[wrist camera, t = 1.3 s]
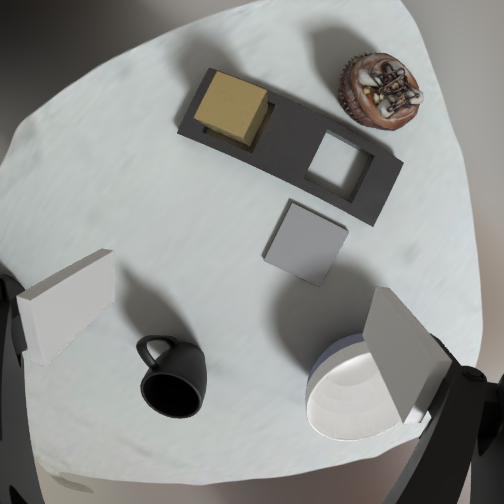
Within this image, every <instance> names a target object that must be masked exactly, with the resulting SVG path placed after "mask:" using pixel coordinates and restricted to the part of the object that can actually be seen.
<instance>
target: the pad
mask: <svg viewBox="0 0 504 504" xmlns="http://www.w3.org/2000/svg"><path fill="white" fill-rule="evenodd" d="M348 233H349V231H347V230H345V229H343V228H341V227H339V226H338V225H336V224H334V223H332V222H330V221H328V220H326V219H324V218H322V217H320V216H318V215H316V214H314V213H312V212H310V211H308V210H306V209H304V208H302V207H300V206H298V205H296V204H294V203H292V204H291V206H290V208H289V210H288V212H287V214H286V216H285V218H284V220H283V222H282V224H281V226H280V228H279V230H278V232H277V234H276V236H275V238H274V240H273V242H272V244H271V246H270V248H269V250H268V252H267V254H266V256H265V258H264V261H265V262H267V263H270V264H272V265H274V266H276V267H278V268H280V269H282V270H285V271H287V272H289V273H291V274H293V275H295V276H297V277H300V278H302V279H304V280H306V281H308V282H310V283H313V284H315V285H317V286H319V287H320V285H321V283H322V281H323V280H324V278H325V276H326V274H327V272H328V271H329V269H330V267H331V265H332V263H333V261H334V260H335V258H336V256H337V254H338V252H339V250H340V248H341V247H342V245H343V243H344V241H345V239H346V237H347V235H348Z"/></svg>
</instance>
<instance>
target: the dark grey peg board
mask: <svg viewBox="0 0 504 504" xmlns="http://www.w3.org/2000/svg"><path fill="white" fill-rule="evenodd" d="M218 72H220V71H218ZM216 73H217V70H215V69H212V68H209V69H208V71H207V73H206V75H205V77H204V79H203V81H202V82H201V84H200V86H199V88H198V90H197V92H196V94H195V96H194V98H193V100H192V102H191V104H190V106H189V108H188V111H187V113H186V115H185V117H184V119H183V121H182V123H181V125H180V128H179V130H178V132H177V134H180V135H182V136H185V137H187V138H190V139H192V140H195V141H197V142H200V143H202V144H204V145H207V146H209V147H211V148H214V149H216V150H218V151H221V152H223V153H225V154H228V155H230V156H232V157H234V158H237V159H239V160H241V161H243V162H245V163H248V164H250V165H252V166H254V167H256V168H259V169H261V170H263V171H265V172H267V173H269V174H271V175H273V176H276V177H278V178H280V179H282V180H284V181H286V182H288V183H290V184H292V185H294V186H296V187H298V188H300V189H302V190H304V191H306V192H308V193H310V194H312V195H314V196H316V197H318V198H320V199H322V200H324V201H326V202H328V203H330V204H332V205H333V206H335V207H337V208H339V209H341V210H343V211H345V212H347V213H348V214H350V215H352V216H354V217H356V218H358V219H359V220H361V221H363V222H365V223H367V224H369V225H370V226H372V227H373V226H374V224H375V222H376V220H377V218H378V216H379V214H380V212H381V210H382V208H383V206H384V204H385V202H386V200H387V198H388V196H389V194H390V192H391V190H392V187H393V185H394V183H395V181H396V179H397V177H398V175H399V172H400V170H401V168H402V166H403V164H404V162H402V161H401V160H399V159H397V158H396V157H394V156H393V155H391V154H390V153H388V152H386V151H385V150H383V149H381V148H380V147H378V146H376V145H375V144H373V143H371V142H370V141H368V140H366V139H365V138H363V137H361V136H359V135H358V134H356V133H354V132H352V131H351V130H349V129H347V128H345V127H343V126H341V125H340V124H338V123H336V122H334V121H332V120H330V119H328V118H326V117H324V116H322V115H320V114H318V113H316V112H314V111H312V110H310V109H308V108H306V107H304V106H302V105H300V104H298V103H296V102H293V101H291V100H289V99H287V98H285V97H282V96H280V95H278V94H276V93H273V92H271V91H269V90H267V104H268V105H270V106H272V107H275V108H274V110H273V112H272V114H271V116H270V118H269V120H268V122H267V124H266V126H265V128H264V130H263V133H262V135H261V137H260V139H259V141H258V143H257V145H256V147H255V149H254V151H253V153H249V152H247V151H245V150H243V149H241V148H238V147H236V146H234V145H231V144H229V143H227V142H224V141H222V140H220V139H217V138H215V137H213V136H210V135H208V134H205V133H206V131H207V129H208V127H207V126H206V125H204V124H203V123H201V122H200V121H198V120H197V119H195V118H194V116H195V114H196V112H197V110H198V108H199V106H200V104H201V102H202V100H203V98H204V96H205V94H206V92H207V90H208V88H209V86H210V84H211V82H212V80H213V78H214V76H215V74H216ZM221 73H223V72H221ZM224 74H226V73H224ZM227 75H228V74H227ZM229 76H231V75H229ZM232 77H234V76H232ZM235 78H237V77H235ZM237 79H239V78H237ZM240 80H242V79H240ZM242 81H244V80H242ZM245 82H247V81H245ZM248 83H249V82H248ZM250 84H252V83H250ZM253 85H254V84H253ZM255 86H257V85H255ZM257 87H259V86H257ZM260 88H262V87H260ZM262 89H264V88H262ZM265 90H266V89H265ZM325 133H328V134H330V135H332V136H334V137H336V138H338V139H340V140H341V141H343V142H345V143H347V144H349V145H351V146H352V147H354V148H356V149H358V150H359V151H361V152H363V153H365V154H366V155H368V156H370V157H369V159H368V162H367V164H366V166H365V168H364V170H363V172H362V174H361V176H360V178H359V180H358V183H357V185H356V187H355V189H354V191H353V193H352V195H351V197H350V199H349V201H346V200H344V199H343V198H341V197H339V196H337V195H335V194H333V193H331V192H329V191H328V190H326V189H324V188H322V187H320V186H318V185H316V184H314V183H312V182H310V181H308V180H306V179H304V176H305V174H306V172H307V170H308V168H309V166H310V164H311V162H312V160H313V158H314V156H315V154H316V152H317V150H318V148H319V145H320V143H321V141H322V139H323V137H324V135H325Z"/></svg>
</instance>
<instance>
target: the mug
mask: <svg viewBox="0 0 504 504" xmlns="http://www.w3.org/2000/svg"><path fill="white" fill-rule="evenodd" d="M153 340H159V341H164V342H166V343H167V344H168V345H169V347H170V348H169V349H167V350H166V351H165V352H163V353H162V354H161V355H160V356H159V357H158V358H157V359H156V360H154V359H153V357H152V356H151V355H150V353H149V351H148V349H147V342H149V341H153ZM136 348H137V351H138V353H139V355H140V357H141V358H142V359H143V361H144V362H145V363H146V365H147V366H148V367H149V369H148V371H147V372H146V374H145V376H144V378H143V379H142V382H141V385H140V387H141V394H142V397H143V398H144V400H145V402H146V403H147V404H148V405H149V406H150V407H151V408H152V409H154V410H155V411H157V412H158V413H160V414H162V415H165V416H167V417H171V418H178V419H181V418H188V417H191V416H193V415H195V414H196V413H197V412H198V411H199V410H200V408H201V406H202V403H203V399H204V396H205V392H206V385H207V370H206V364H205V356H204V354H203V352H202V351H201V349H200V348H198V347H197V346H196V345H194V344H192V343H188V342H179V343H178V341H177V340H176V339H175V338H174V337H171V336H164V335H149V336H145V337H143V338H141V339H140V340H139V341H138V342H137V345H136Z"/></svg>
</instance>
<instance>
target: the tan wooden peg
mask: <svg viewBox="0 0 504 504" xmlns="http://www.w3.org/2000/svg"><path fill="white" fill-rule="evenodd" d="M267 111H268V106H267V90H265V89H262V88H260V87H257V86H255V85H253V84H250V83H248V82H245V81H242V80H240V79H237V78H235V77H232V76H229V75H227V74H224V73H221V72H218V71H217V73H216V74H215V76H214V78H213V80H212V82H211V84H210V86H209V88H208V90H207V92H206V94H205V96H204V98H203V100H202V102H201V104H200V106H199V108H198V110H197V112H196V114H195V116H194V118H195V119H197V120H198V121H200V122H201V123H203V124H204V125H206V126H207V127H208V128H210V129H211V130H213V131H215V132H217V133H220V134H222V135H225V136H227V137H229V138H232V139H234V140H236V141H239V142H241V143H243V144H245V145H248V146H251V144H252V142H253V140H254V138H255V136H256V134H257V132H258V129H259V127H260V125H261V123H262V121H263V119H264V117H265V115H266V113H267Z"/></svg>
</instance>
